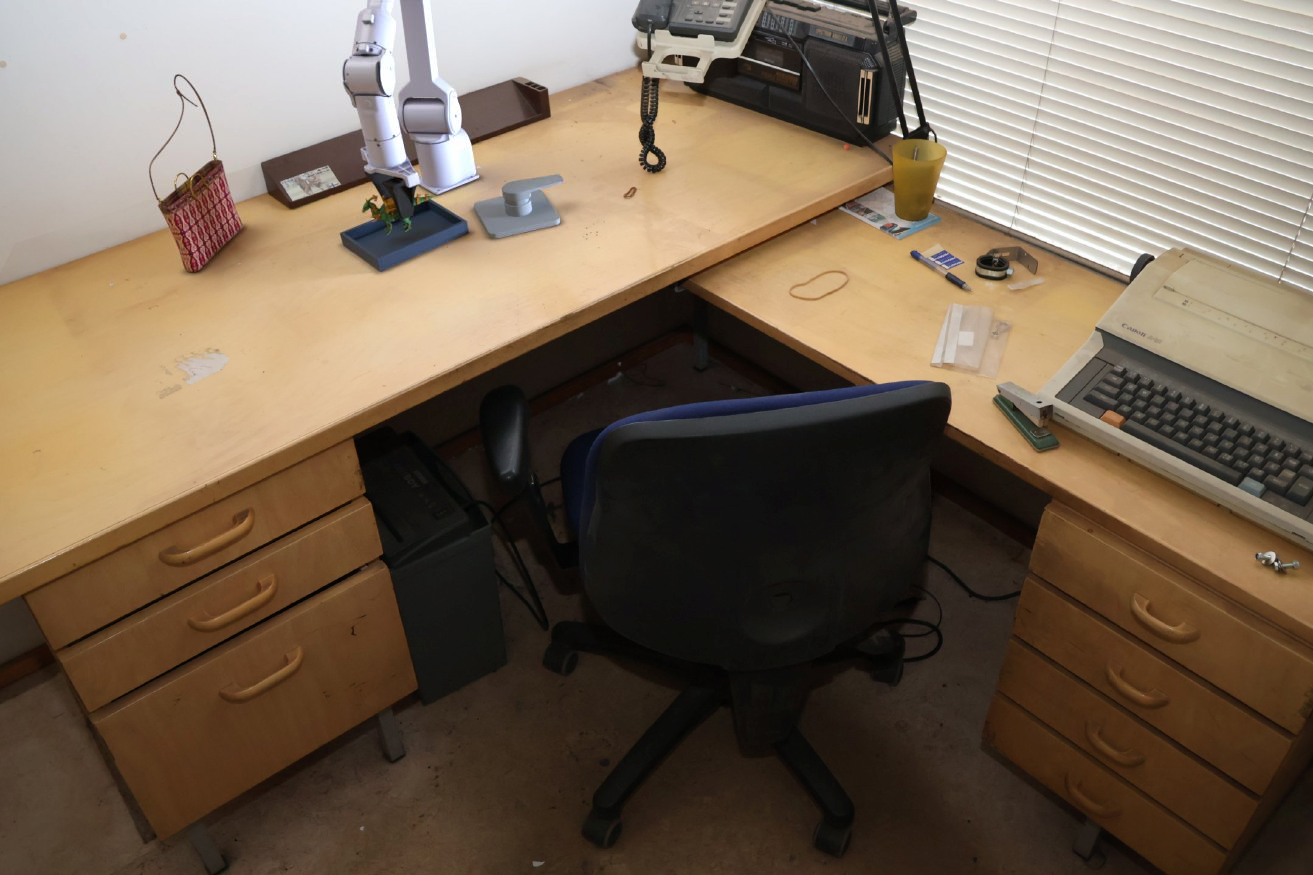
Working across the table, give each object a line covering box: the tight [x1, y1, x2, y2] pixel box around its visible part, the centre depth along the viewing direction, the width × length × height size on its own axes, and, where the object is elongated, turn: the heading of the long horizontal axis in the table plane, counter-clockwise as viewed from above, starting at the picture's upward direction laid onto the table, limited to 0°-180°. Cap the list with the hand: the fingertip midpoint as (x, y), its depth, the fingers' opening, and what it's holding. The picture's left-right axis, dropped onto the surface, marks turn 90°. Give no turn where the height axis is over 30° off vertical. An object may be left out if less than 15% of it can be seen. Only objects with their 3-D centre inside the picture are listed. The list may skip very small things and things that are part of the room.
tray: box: [339, 198, 470, 272], centre depth 168 cm, size 17×12×2 cm
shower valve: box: [473, 173, 565, 240], centre depth 172 cm, size 12×6×15 cm
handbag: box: [148, 73, 243, 273], centre depth 162 cm, size 7×21×25 cm, turn 168°
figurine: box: [361, 193, 436, 235], centre depth 164 cm, size 3×12×8 cm, turn 108°
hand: (400, 212), depth 165 cm, fingers closed on figurine, 3 cm apart
